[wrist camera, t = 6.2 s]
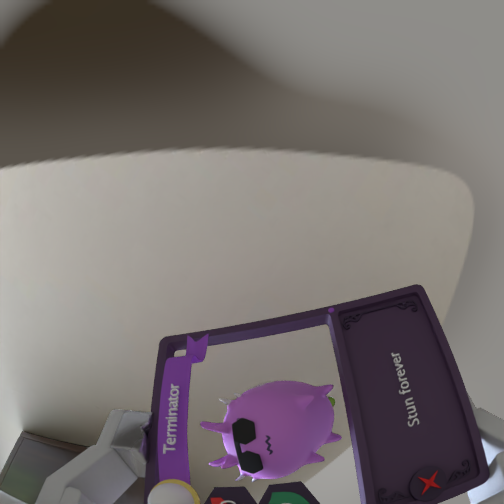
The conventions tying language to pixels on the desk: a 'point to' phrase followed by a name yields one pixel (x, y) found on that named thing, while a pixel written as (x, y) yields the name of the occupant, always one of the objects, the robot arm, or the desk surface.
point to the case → (47, 468)
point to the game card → (331, 410)
